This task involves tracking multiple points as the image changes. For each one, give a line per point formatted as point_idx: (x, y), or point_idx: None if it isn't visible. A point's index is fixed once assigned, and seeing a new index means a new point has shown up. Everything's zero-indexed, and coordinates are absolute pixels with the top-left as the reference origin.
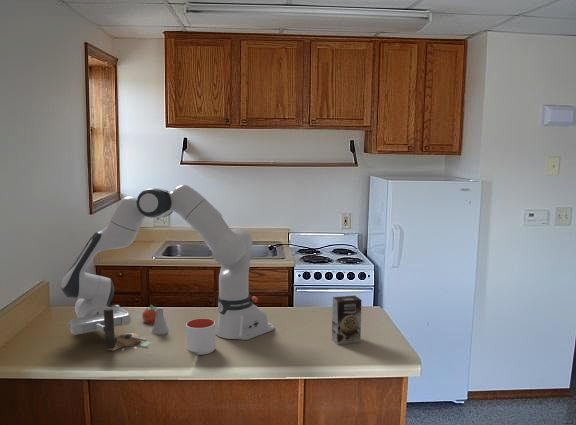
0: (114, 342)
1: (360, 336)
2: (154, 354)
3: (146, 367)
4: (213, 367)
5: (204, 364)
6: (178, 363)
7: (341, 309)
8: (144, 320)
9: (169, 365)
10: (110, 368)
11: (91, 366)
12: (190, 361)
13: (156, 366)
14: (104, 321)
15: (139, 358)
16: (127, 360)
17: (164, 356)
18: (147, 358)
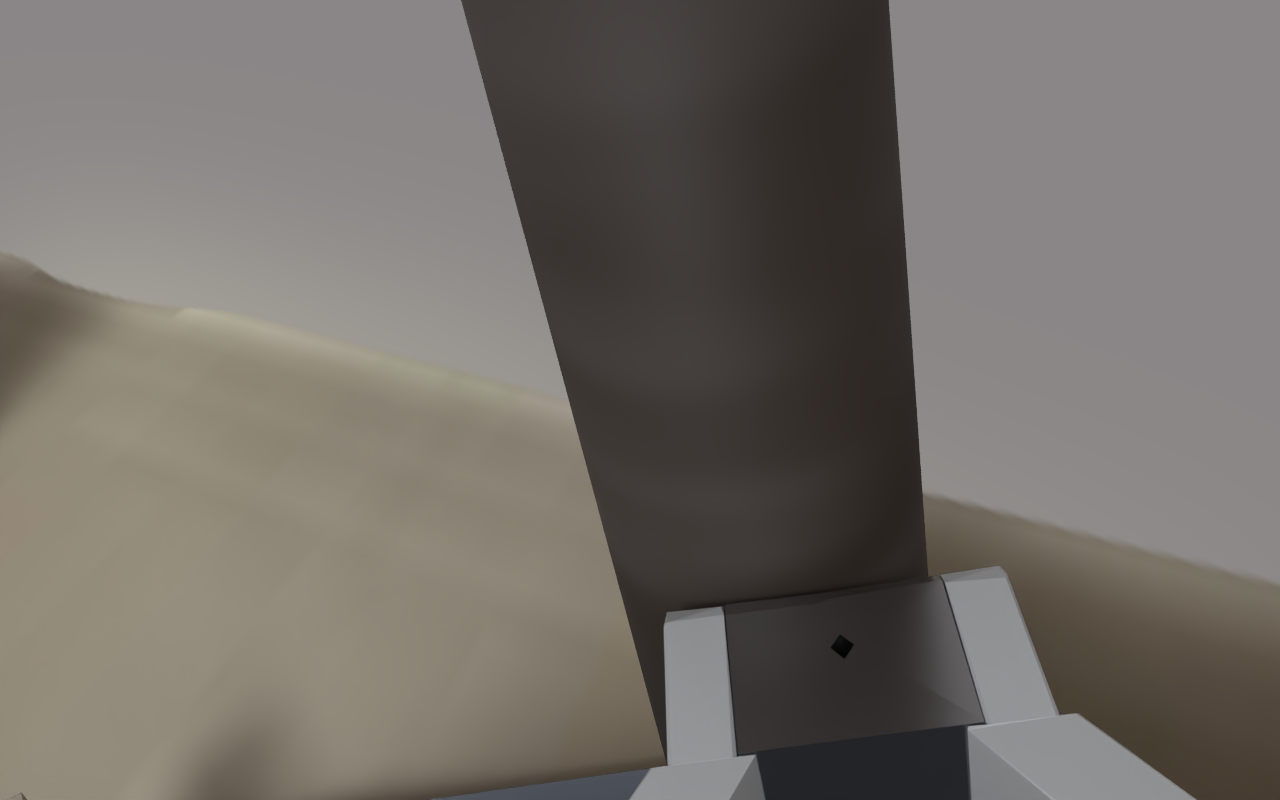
0: None
1: None
2: (169, 689)
3: (490, 402)
4: (27, 275)
5: (21, 325)
6: (164, 392)
7: None
8: None
9: (264, 380)
10: (927, 496)
11: (1265, 648)
12: (45, 397)
13: (385, 394)
14: (900, 199)
15: (427, 643)
16: (616, 644)
17: (125, 581)
18: (335, 603)
